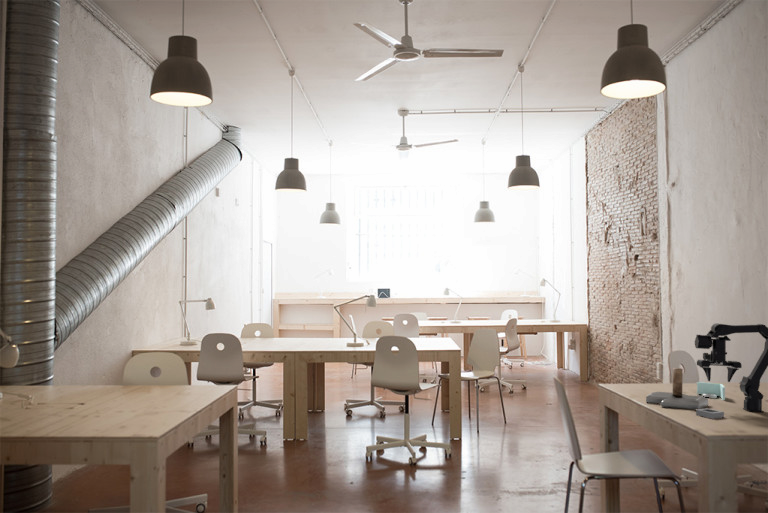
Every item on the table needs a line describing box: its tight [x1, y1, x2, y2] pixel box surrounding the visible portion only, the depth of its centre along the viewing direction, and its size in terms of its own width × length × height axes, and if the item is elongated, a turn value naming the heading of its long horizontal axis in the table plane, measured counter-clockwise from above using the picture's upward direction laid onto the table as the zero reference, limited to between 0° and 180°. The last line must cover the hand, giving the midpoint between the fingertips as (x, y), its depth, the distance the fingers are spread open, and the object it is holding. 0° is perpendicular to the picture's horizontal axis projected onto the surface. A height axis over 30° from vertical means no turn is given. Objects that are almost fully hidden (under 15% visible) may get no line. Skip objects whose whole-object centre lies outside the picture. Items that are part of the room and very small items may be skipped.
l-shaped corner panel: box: [696, 381, 726, 401], centre depth 315 cm, size 12×12×8 cm
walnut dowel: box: [672, 367, 684, 396], centre depth 294 cm, size 4×4×13 cm
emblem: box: [645, 391, 709, 410], centre depth 294 cm, size 28×5×28 cm
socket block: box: [695, 407, 725, 420], centre depth 268 cm, size 8×8×2 cm
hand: (718, 381), depth 286 cm, fingers open, 9 cm apart
